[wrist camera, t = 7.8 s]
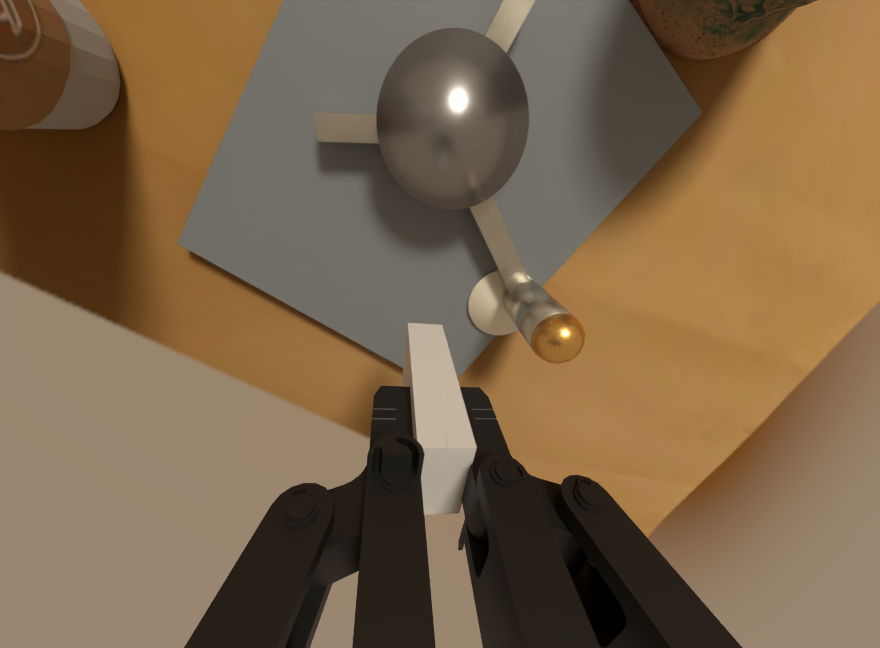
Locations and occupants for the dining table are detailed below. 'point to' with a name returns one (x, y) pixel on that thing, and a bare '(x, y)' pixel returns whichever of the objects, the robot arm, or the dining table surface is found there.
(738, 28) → the mug
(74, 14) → the coffee cup
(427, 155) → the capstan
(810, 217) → the dining table surface
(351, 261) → the stand plate
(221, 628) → the robot arm
